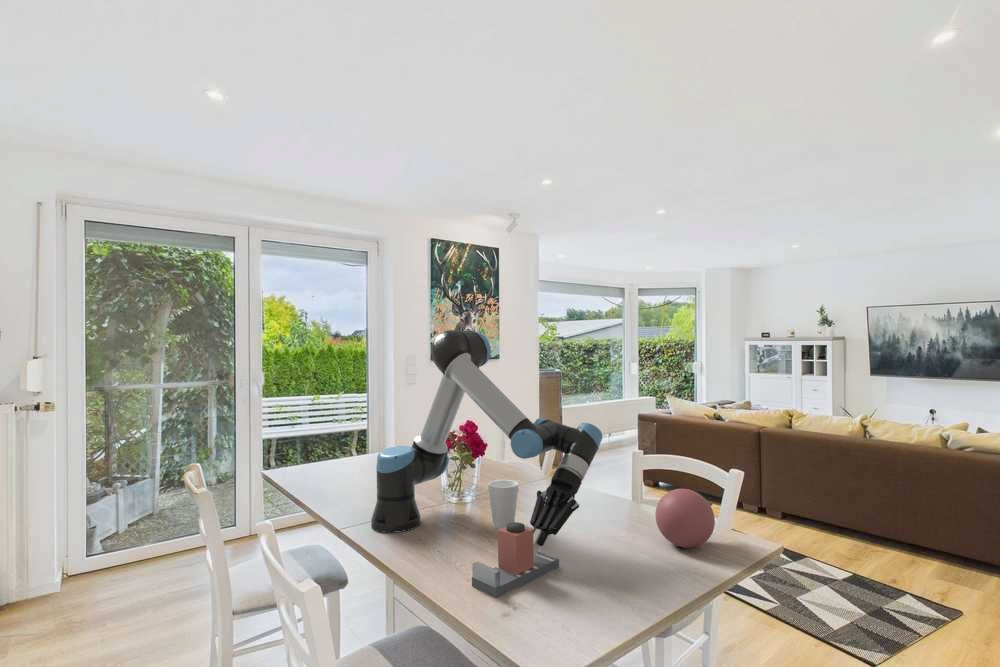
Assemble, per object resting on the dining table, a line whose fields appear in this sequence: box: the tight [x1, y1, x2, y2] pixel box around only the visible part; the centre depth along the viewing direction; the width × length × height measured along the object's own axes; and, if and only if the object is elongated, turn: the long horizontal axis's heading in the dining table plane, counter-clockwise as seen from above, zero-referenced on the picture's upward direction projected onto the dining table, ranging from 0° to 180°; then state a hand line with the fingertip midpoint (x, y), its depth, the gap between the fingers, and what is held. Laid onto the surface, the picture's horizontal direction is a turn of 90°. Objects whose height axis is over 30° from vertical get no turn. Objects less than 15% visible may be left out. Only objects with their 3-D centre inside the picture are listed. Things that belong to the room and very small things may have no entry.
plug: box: [497, 521, 534, 575], centre depth 126 cm, size 6×6×10 cm
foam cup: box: [487, 479, 519, 530], centre depth 161 cm, size 10×9×13 cm
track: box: [471, 551, 560, 598], centre depth 126 cm, size 22×8×5 cm, turn 135°
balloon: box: [655, 488, 716, 549], centre depth 145 cm, size 15×20×15 cm
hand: (529, 555), depth 128 cm, fingers closed
